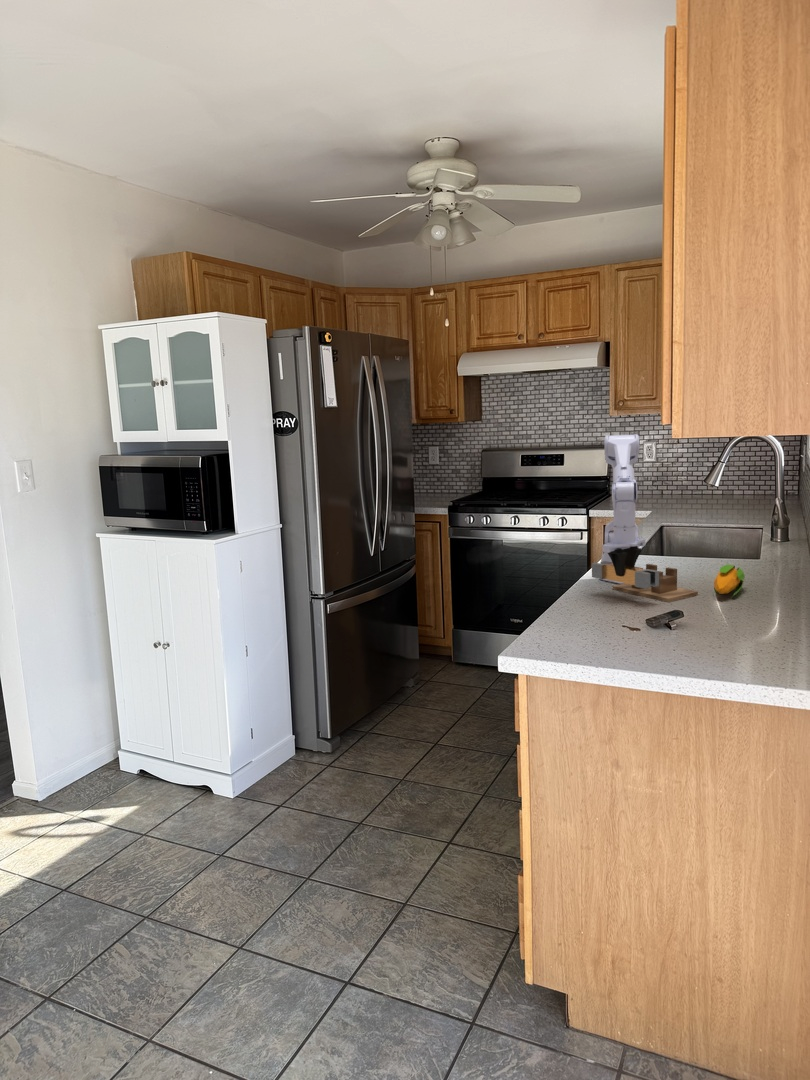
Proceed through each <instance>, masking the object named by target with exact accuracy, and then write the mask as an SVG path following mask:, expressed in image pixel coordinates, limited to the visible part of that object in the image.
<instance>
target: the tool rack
mask: <svg viewBox="0 0 810 1080" xmlns="http://www.w3.org/2000/svg"><path fill="white" fill-rule="evenodd" d="M634 568H640V569H644V568H643V567H639V566H635V567H634ZM646 569H650V570H656V571H659V586H657V587H653V586H650V588H648V589H644V588H640V587H635V585H631V584H626V583H624V584H615V585H613V586H612V591H613V590H614V591H618V592H621V593H622V592H623V593H626V594H631V595H635V596H640V597H644V598H649V599H653V600H657V601H661V602H665V603H671V602H675V601H679V600H683V599H688V598H692V597H695V596H698V595H699V591H698V590H697V591H696V590H694V589H693V590H692V589H687V588H683V587H678V568H674V567H670V566H669V567H665V574H664V571H660V570H658V564H652V563H646V565H645V570H646Z"/></svg>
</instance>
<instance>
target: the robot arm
mask: <svg viewBox="0 0 810 1080" xmlns="http://www.w3.org/2000/svg"><path fill="white" fill-rule="evenodd" d="M604 436H605V437H604V460H605V463H606V464H608V465H611V468H612V469H613V470H612V484H611V501H612V509H613V519H612V520H610V521H609V522H608V523H607V524H605V526H604V544H602V555H601V559H600V562H601V561H608V562H612V563H613V565H614V569H615V573H616V576H621V577H622V576H623V575H624V566H629V567H636V563H637V560H638V558H639V556H640V555H641V553H642V548H640V547H646V541H647V540H646V538H642V537H641V538H640V537H639V527H638V525H637V523H636V503H637V502H638V483H637V480H636V478H635V469H634V467H633V466H632V465H633V464H635V463H637V462H638V460H639V455H640V454H639V453H640V436H639V435H638V433H635V434H619V435H617V434H616V435H612V434H611V435H609V434H606V435H604ZM599 580H600V581H604V582H610V583H615V584H617V585H620V584H624V583H622V582H617V581H612V580H608V579H599Z"/></svg>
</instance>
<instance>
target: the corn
mask: <svg viewBox="0 0 810 1080" xmlns="http://www.w3.org/2000/svg"><path fill="white" fill-rule="evenodd" d="M745 578H746V577H745V573H744V570H742V568H740V567H738V568H736V565H734V564H725V565H723V566H721V567H720V568H719V572H718V573H717V575H716V577H715V579H714V581H713V585H714V586H713V590H714V592H715V593H716V594H717V595H722V594H723V595H724V594H729V593H731V592H732V591H734V590H735V592H734V593H733V595H732V596H731V597H732V598H733V597H734V596H735V595H737V594H738V593H739V592H740V591H741V590H742V588H743V586H744V581H745V580H744V579H745Z"/></svg>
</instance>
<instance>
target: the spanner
mask: <svg viewBox="0 0 810 1080" xmlns="http://www.w3.org/2000/svg"><path fill="white" fill-rule="evenodd" d="M640 568H641V567H640ZM640 568H634V567H629V566H624V575H623V576H622V577H621V576H616V573H615V569H614V565H613V563H612V562H608V561H601V560H600V562H593V563H591V578H595V579H599V580H600V579H608V580H612V581H617V582H622V583H626V584H631V585H635V587H640V588H644V589H648V588H650V586H653V587H657V586H659V571H660V570H657V571H656V570H650V569H646V568H645V569H644V568H643V569H640Z"/></svg>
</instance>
